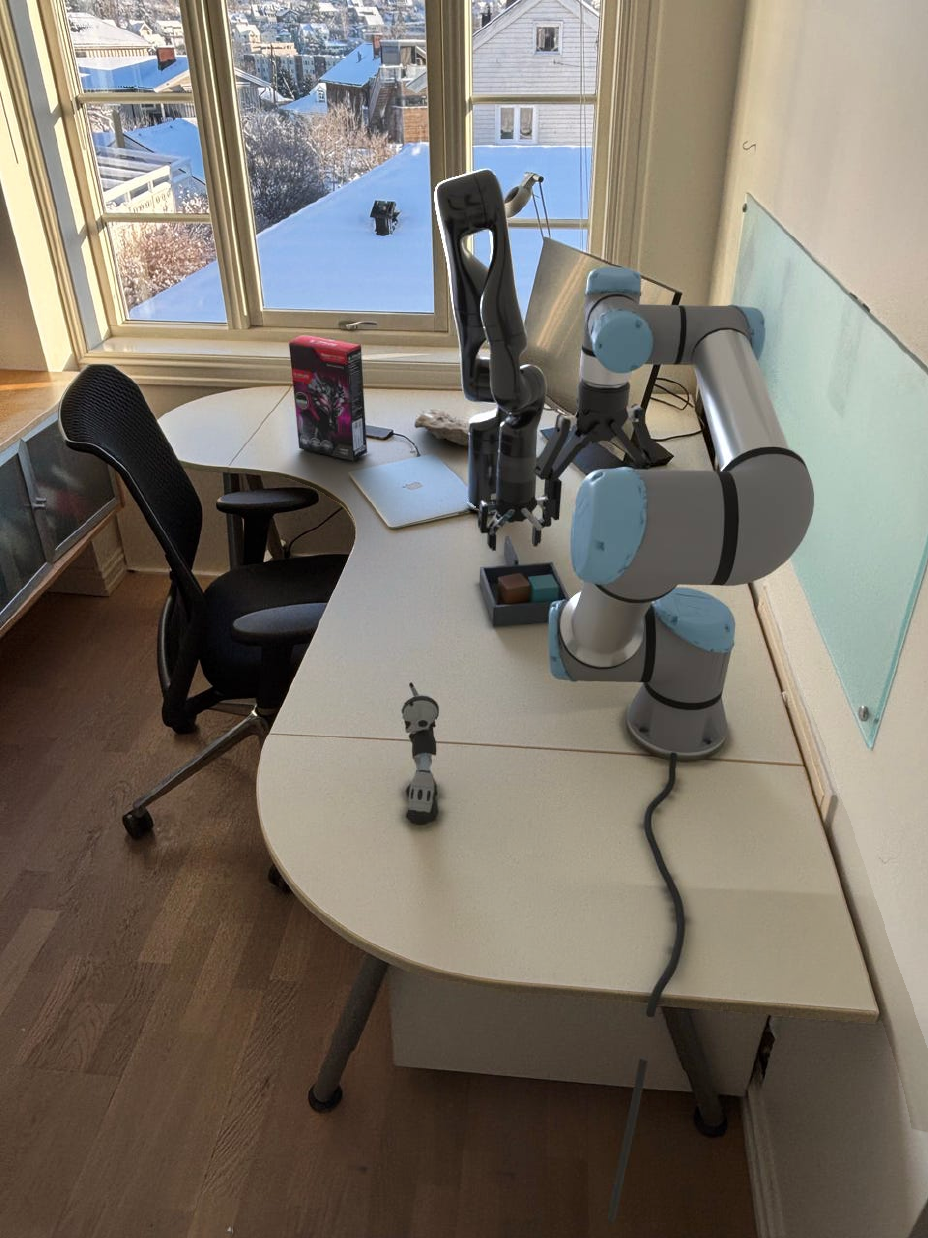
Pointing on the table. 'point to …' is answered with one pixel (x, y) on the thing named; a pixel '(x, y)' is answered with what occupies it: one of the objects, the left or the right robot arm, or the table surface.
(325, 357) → the graphics card box
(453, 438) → the stone
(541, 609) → the tray
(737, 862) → the table surface
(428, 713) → the robot
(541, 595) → the teal block
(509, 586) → the walnut block
